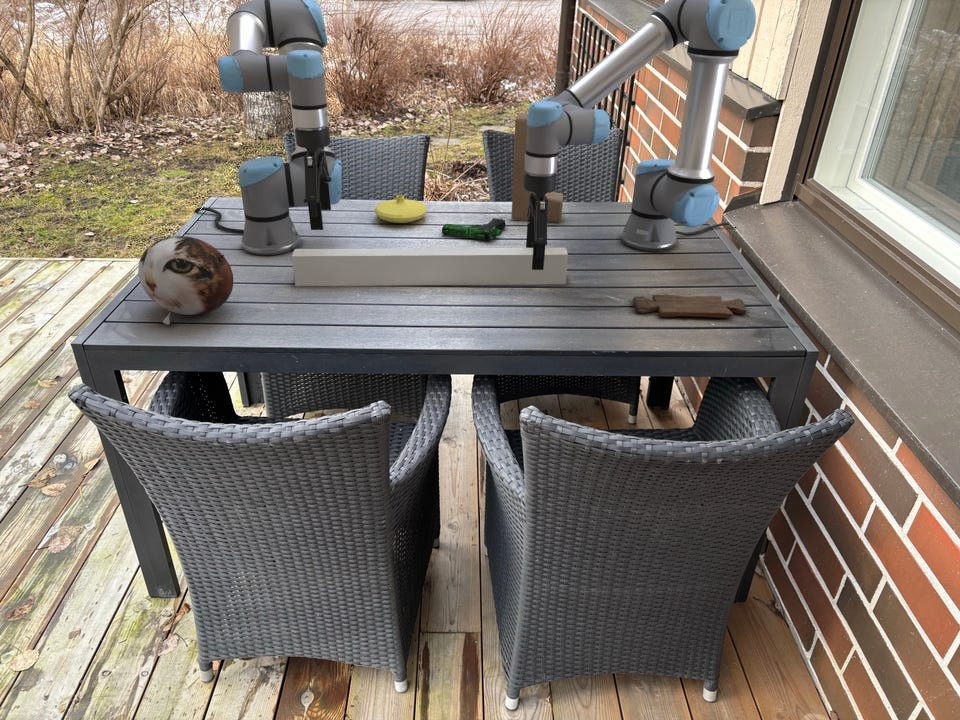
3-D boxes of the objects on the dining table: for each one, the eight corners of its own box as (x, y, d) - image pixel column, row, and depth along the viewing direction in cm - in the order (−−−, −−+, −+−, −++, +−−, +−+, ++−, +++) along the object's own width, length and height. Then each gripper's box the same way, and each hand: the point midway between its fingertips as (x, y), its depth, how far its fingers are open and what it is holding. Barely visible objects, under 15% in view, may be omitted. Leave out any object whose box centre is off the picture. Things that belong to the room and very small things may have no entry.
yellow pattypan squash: (398, 206, 226) (397, 184, 222) (437, 217, 218) (437, 194, 214) (364, 220, 215) (362, 197, 211) (403, 231, 207) (402, 208, 203)
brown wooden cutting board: (751, 321, 162) (739, 301, 171) (753, 314, 161) (740, 295, 170) (638, 317, 162) (631, 298, 171) (639, 310, 162) (632, 291, 170)
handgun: (511, 219, 210) (493, 234, 198) (511, 228, 211) (492, 244, 199) (461, 212, 215) (440, 226, 203) (461, 221, 217) (440, 236, 204)
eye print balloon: (100, 300, 154) (135, 215, 156) (167, 323, 170) (198, 245, 171) (166, 325, 144) (203, 233, 145) (230, 347, 159) (263, 264, 161)
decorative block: (560, 223, 215) (568, 120, 200) (511, 220, 217) (515, 118, 201) (561, 214, 221) (569, 114, 206) (513, 212, 223) (517, 112, 208)
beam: (295, 286, 174) (291, 256, 170) (298, 278, 178) (294, 248, 174) (565, 284, 178) (568, 254, 174) (562, 276, 182) (565, 247, 178)
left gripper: (320, 141, 147) (330, 238, 158) (335, 114, 169) (343, 202, 179) (283, 140, 147) (296, 238, 158) (303, 114, 168) (313, 202, 179)
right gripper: (564, 189, 155) (556, 279, 165) (549, 158, 176) (543, 240, 187) (530, 188, 154) (524, 278, 165) (519, 158, 176) (514, 239, 187)
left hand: (321, 219), depth 169 cm, fingers open, 13 cm apart
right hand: (534, 258), depth 176 cm, fingers open, 13 cm apart
